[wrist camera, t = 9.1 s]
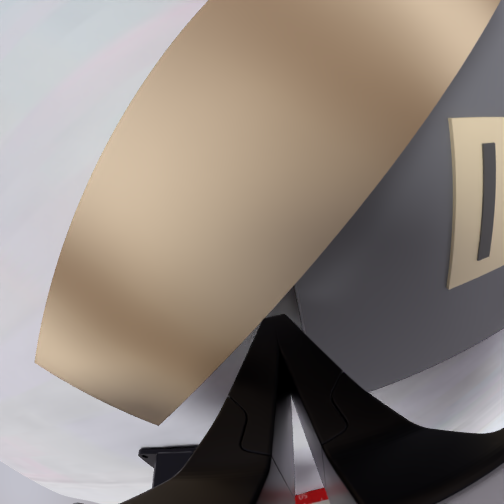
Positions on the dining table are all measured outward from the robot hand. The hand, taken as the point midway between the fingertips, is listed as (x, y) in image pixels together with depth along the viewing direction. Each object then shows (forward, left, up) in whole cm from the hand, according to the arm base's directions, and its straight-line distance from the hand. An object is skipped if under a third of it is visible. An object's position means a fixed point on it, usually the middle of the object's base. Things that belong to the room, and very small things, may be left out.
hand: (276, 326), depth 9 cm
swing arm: (+7, -3, -1) cm, 8 cm away
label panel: (+4, -9, -2) cm, 11 cm away
